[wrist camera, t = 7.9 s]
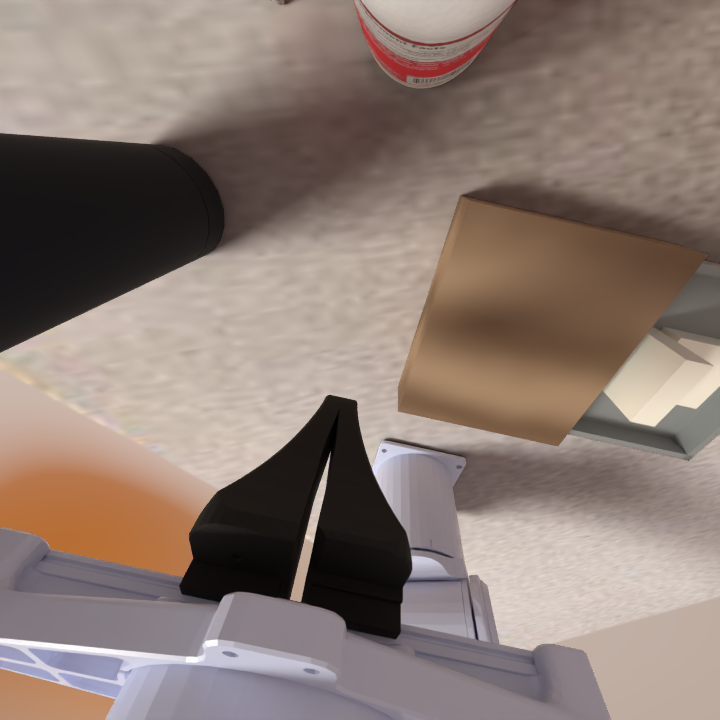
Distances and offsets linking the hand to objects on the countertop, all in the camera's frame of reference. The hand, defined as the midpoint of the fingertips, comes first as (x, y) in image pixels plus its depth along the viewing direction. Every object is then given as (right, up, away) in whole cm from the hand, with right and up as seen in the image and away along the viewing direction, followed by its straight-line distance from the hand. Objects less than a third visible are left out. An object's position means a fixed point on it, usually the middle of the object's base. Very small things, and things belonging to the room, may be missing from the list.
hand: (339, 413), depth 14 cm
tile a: (+18, +2, +5) cm, 19 cm away
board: (+11, +5, +7) cm, 14 cm away
